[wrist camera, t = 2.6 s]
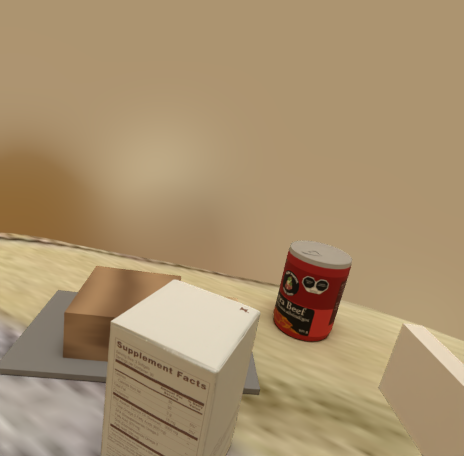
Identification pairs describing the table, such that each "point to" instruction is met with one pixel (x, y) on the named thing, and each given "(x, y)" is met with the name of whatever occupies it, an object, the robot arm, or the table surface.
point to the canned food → (311, 290)
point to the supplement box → (176, 373)
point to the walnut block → (104, 308)
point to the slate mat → (51, 350)
